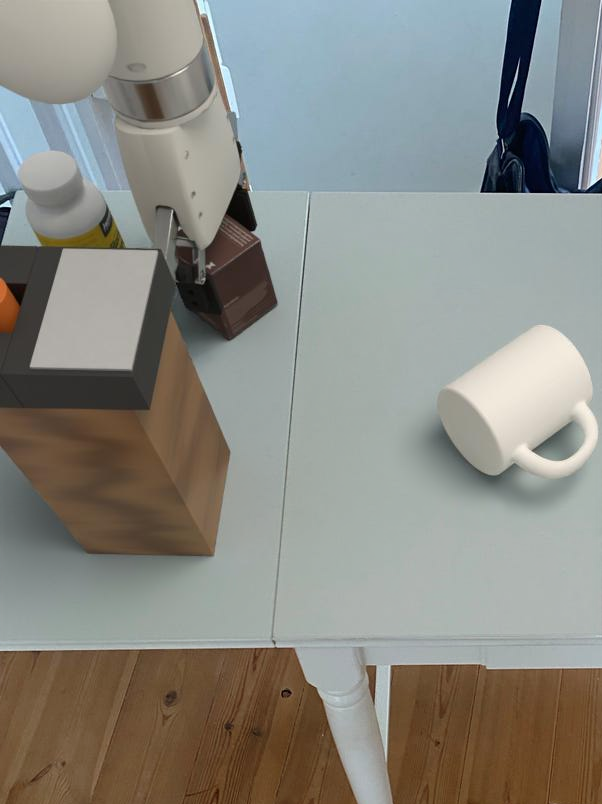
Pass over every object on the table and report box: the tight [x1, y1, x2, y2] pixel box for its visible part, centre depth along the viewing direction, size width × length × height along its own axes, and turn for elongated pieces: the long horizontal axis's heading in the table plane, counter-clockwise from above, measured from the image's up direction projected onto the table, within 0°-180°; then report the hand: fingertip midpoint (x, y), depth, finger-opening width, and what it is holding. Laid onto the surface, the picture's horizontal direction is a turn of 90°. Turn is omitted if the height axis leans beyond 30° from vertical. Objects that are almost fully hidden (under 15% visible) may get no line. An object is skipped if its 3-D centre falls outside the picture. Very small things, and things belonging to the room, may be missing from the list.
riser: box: [0, 310, 231, 557], centre depth 63 cm, size 10×10×18 cm
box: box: [177, 213, 279, 340], centre depth 76 cm, size 6×6×7 cm
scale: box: [0, 244, 177, 410], centre depth 53 cm, size 12×10×3 cm
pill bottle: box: [17, 150, 127, 248], centre depth 75 cm, size 6×6×12 cm
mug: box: [436, 324, 599, 480], centre depth 70 cm, size 12×10×8 cm
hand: (223, 267), depth 76 cm, fingers open, 9 cm apart
